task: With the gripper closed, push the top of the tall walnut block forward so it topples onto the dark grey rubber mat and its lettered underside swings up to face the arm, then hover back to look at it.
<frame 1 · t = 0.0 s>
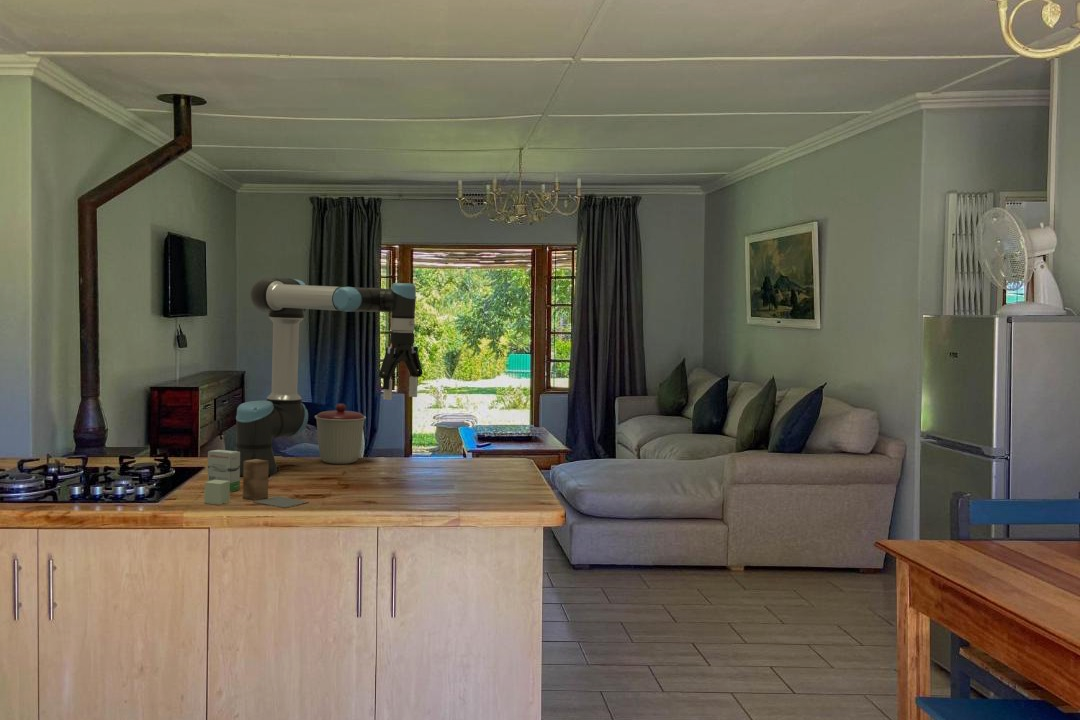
hand: (400, 398, 328), 28 cm above the counter, fingers open, 13 cm apart
walnut block: (255, 498, 301), on the counter
ink box: (223, 490, 311), on the counter
canister: (339, 462, 369), on the counter
mat: (281, 502, 296), on the counter
sage block: (217, 502, 293), on the counter
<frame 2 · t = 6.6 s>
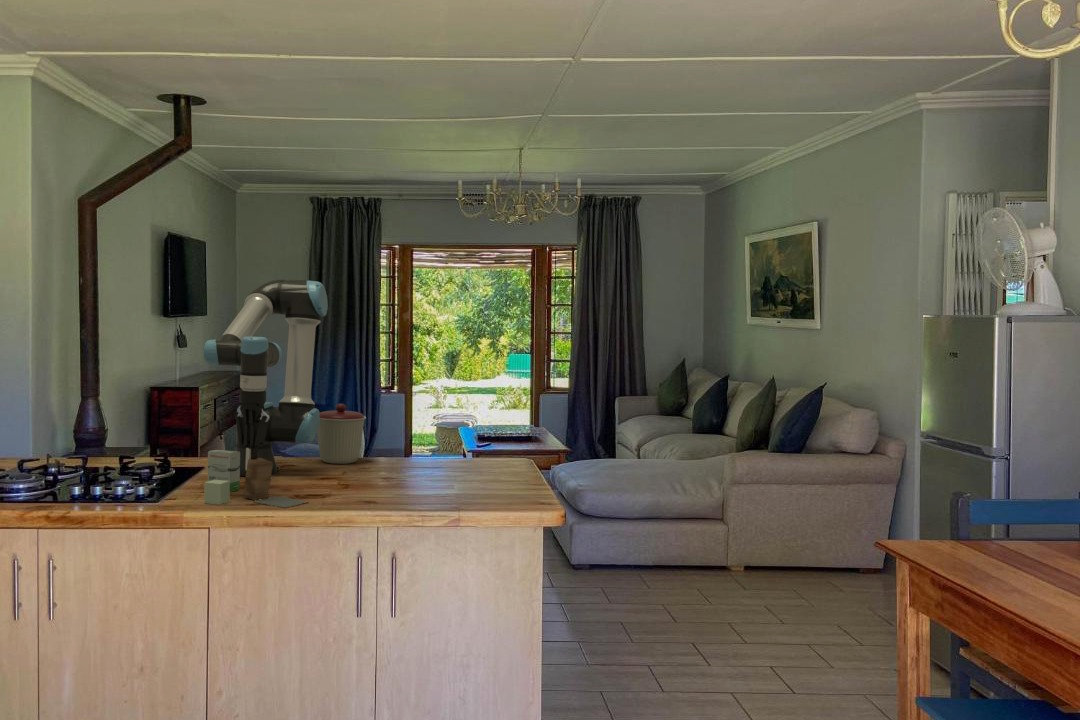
hand: (250, 469, 301), 8 cm above the counter, fingers closed
walnut block: (255, 497, 301), on the counter, tilted 9°, touching gripper
everything else where it was.
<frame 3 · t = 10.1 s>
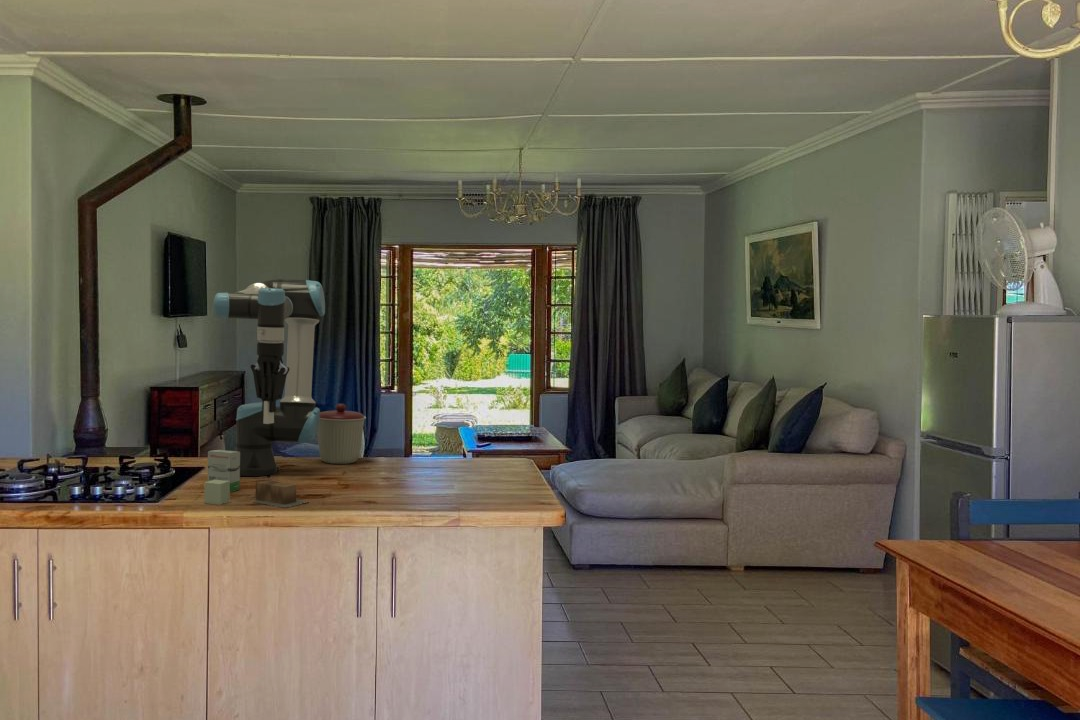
hand: (268, 423, 297), 22 cm above the counter, fingers closed
walnut block: (261, 489, 299), point 3 cm above the counter, tilted 90°, touching mat
everything else where it was.
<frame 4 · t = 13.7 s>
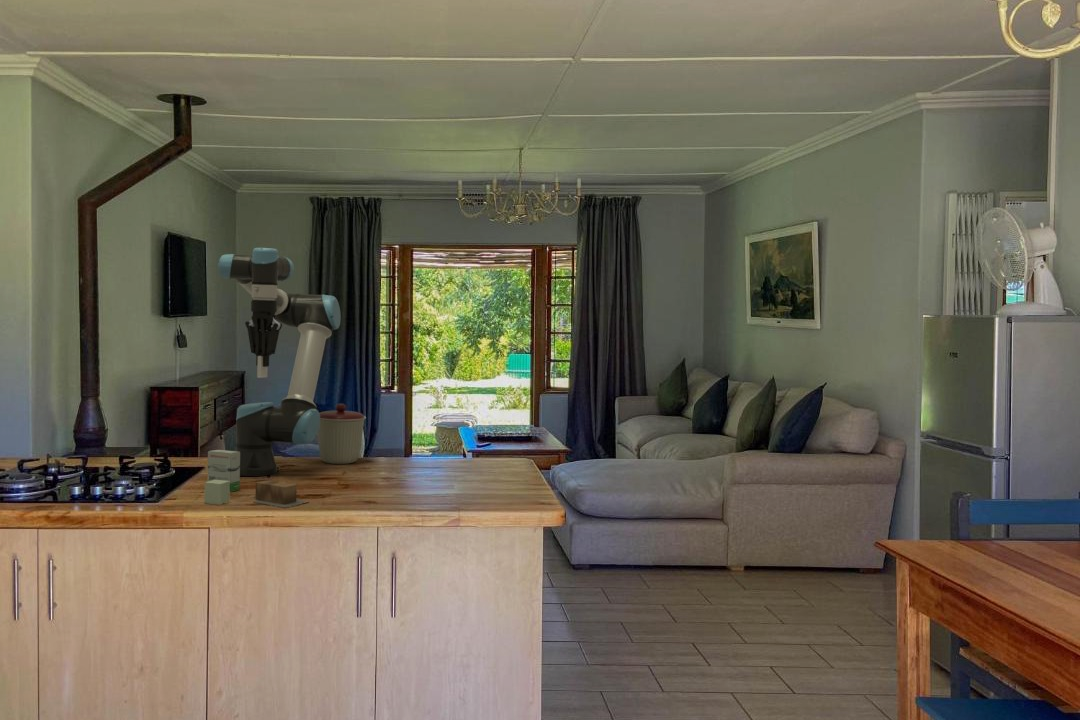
hand: (262, 377, 311), 34 cm above the counter, fingers closed
nothing on the counter moved.
at the end: walnut block tilted 90°; walnut block inside the target area (5.6 cm from its centre), point 2.8 cm above the counter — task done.
